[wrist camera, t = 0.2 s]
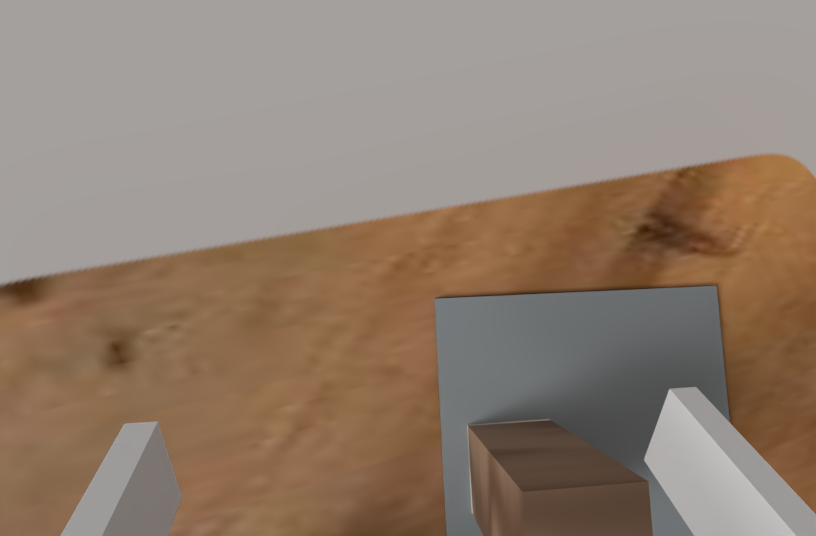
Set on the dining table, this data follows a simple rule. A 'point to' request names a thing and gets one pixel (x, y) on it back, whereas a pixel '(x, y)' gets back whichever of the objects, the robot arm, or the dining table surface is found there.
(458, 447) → the rubber mat
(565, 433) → the walnut block
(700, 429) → the robot arm
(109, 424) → the dining table surface
